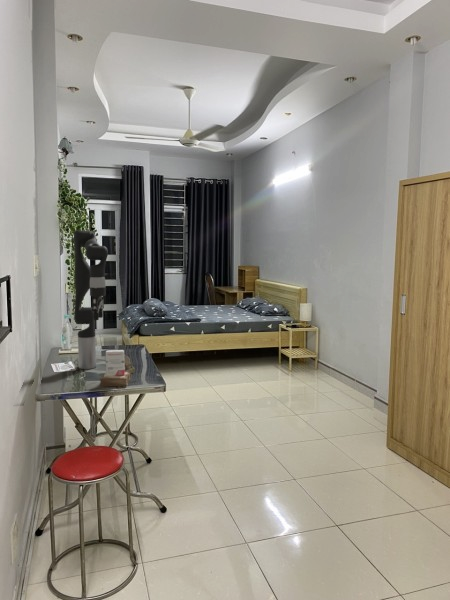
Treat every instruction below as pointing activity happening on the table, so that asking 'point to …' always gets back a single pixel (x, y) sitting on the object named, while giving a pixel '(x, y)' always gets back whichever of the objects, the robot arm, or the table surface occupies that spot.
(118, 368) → the ink box
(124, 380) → the base
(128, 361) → the ceramic model
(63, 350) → the table surface
